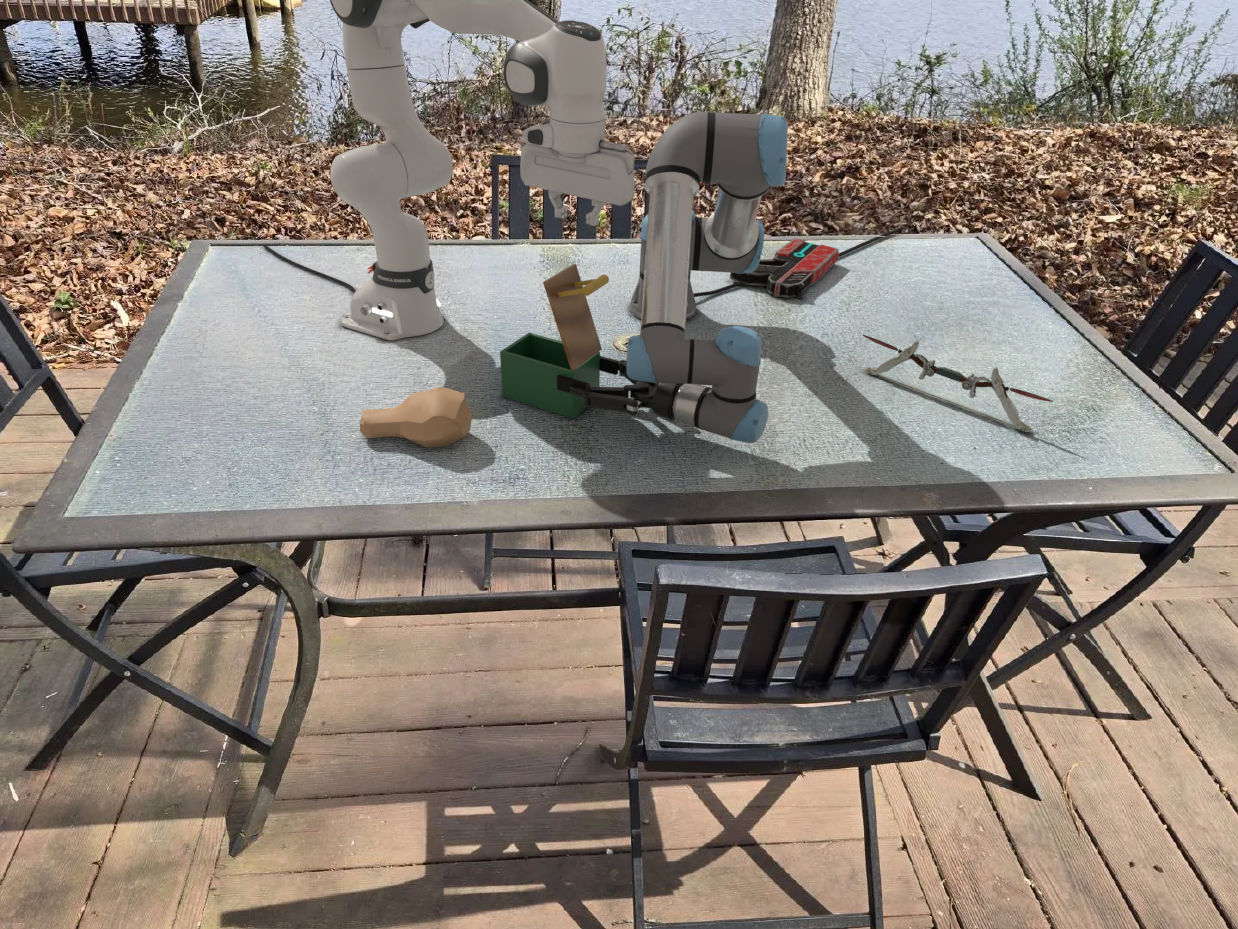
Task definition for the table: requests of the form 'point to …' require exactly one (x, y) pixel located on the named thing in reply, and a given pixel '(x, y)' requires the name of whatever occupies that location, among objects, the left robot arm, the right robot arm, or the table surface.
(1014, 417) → the bow
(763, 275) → the gun
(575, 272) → the lid
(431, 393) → the squash
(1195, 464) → the table surface
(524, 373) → the chest
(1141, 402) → the table surface
